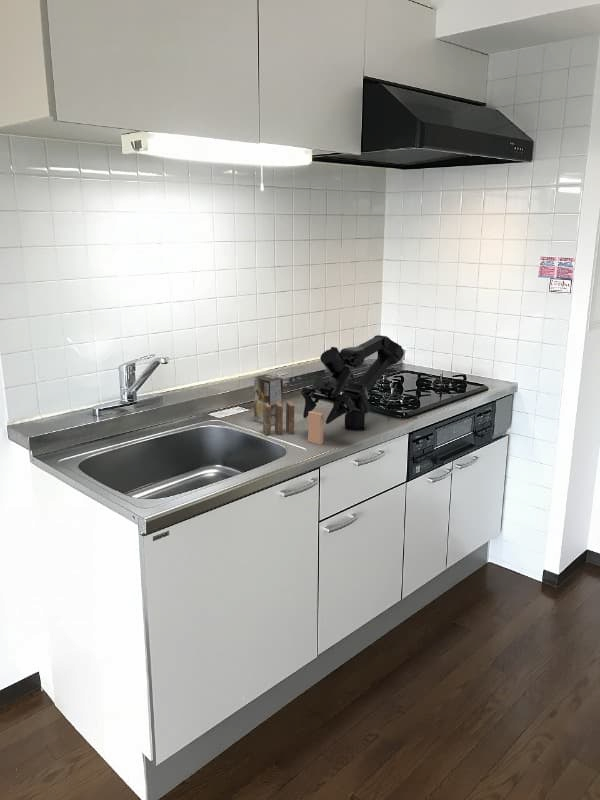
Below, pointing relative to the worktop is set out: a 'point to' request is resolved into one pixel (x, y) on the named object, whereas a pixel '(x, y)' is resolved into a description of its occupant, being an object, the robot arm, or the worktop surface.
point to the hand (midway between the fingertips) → (315, 420)
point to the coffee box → (267, 395)
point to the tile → (315, 427)
